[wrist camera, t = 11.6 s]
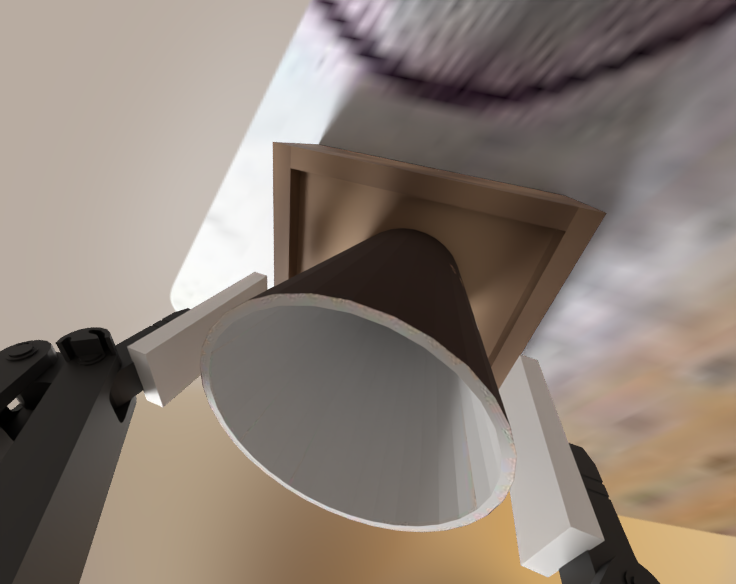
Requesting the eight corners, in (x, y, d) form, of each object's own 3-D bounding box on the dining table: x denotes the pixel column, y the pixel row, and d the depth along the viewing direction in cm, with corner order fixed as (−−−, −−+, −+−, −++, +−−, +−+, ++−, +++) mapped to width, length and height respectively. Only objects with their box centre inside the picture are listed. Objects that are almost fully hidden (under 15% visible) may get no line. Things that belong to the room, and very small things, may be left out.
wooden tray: (564, 195, 15) (606, 213, 11) (469, 381, 22) (471, 434, 18) (318, 144, 18) (272, 141, 13) (306, 326, 25) (275, 361, 21)
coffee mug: (362, 177, 14) (207, 219, 5) (518, 252, 13) (626, 435, 5) (307, 334, 20) (194, 471, 11) (413, 390, 19) (376, 578, 11)
